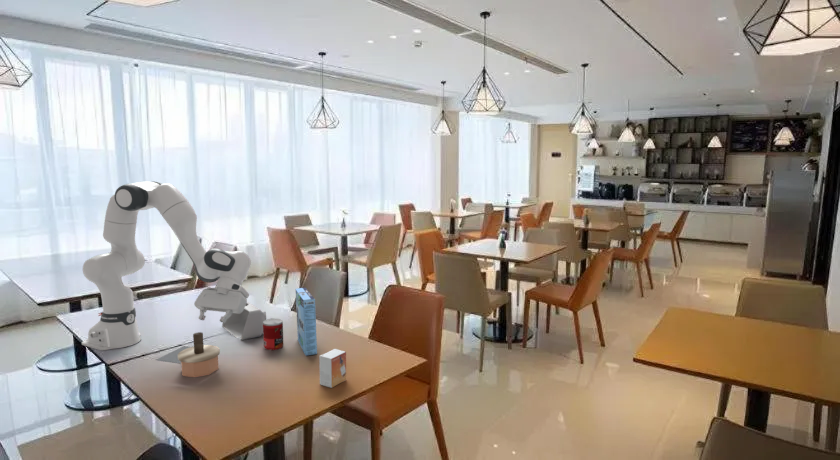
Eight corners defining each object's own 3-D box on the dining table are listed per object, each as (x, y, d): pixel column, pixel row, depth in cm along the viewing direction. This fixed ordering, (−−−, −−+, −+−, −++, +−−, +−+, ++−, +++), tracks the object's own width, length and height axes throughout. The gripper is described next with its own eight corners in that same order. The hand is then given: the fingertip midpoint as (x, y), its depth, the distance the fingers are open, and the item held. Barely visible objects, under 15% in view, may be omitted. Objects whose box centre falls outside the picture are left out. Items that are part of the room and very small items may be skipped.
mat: (155, 360, 186) (155, 359, 186) (183, 346, 201) (183, 345, 200) (187, 365, 182) (187, 364, 182) (214, 350, 197) (214, 349, 197)
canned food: (278, 351, 197) (277, 325, 195) (260, 349, 198) (259, 323, 197) (286, 344, 204) (286, 319, 203) (269, 342, 206) (268, 317, 204)
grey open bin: (276, 333, 217) (275, 306, 215) (240, 341, 207) (239, 313, 205) (255, 319, 236) (254, 294, 234) (221, 326, 226) (220, 300, 224)
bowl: (174, 375, 174) (173, 359, 173) (197, 362, 185) (197, 347, 184) (202, 379, 171) (201, 363, 170) (224, 365, 182) (224, 350, 181)
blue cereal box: (317, 354, 194) (315, 298, 191) (304, 356, 192) (302, 300, 189) (308, 338, 211) (307, 287, 208) (296, 339, 209) (295, 288, 206)
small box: (331, 388, 164) (330, 359, 163) (319, 384, 167) (318, 355, 166) (347, 379, 171) (346, 351, 170) (335, 376, 174) (334, 348, 173)
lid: (168, 360, 172) (167, 338, 171) (196, 345, 186) (195, 325, 185) (202, 364, 169) (200, 342, 168) (228, 349, 182) (226, 329, 181)
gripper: (200, 282, 191) (183, 314, 183) (245, 286, 186) (230, 319, 178) (209, 291, 196) (193, 321, 188) (253, 295, 191) (238, 327, 183)
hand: (211, 320), depth 183 cm, fingers open, 8 cm apart
